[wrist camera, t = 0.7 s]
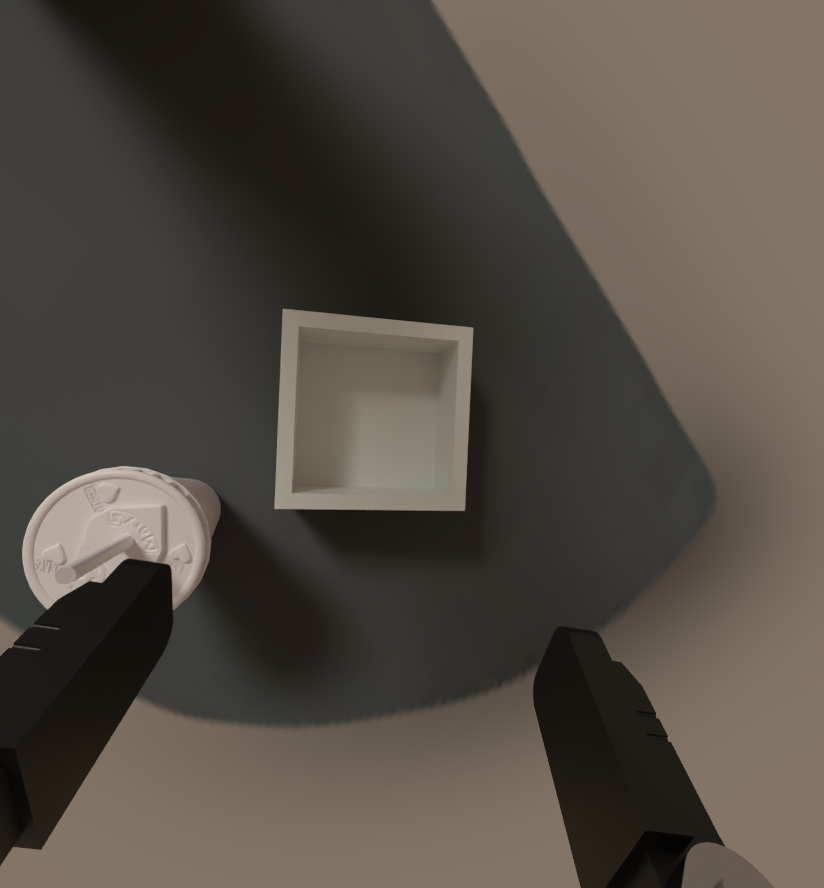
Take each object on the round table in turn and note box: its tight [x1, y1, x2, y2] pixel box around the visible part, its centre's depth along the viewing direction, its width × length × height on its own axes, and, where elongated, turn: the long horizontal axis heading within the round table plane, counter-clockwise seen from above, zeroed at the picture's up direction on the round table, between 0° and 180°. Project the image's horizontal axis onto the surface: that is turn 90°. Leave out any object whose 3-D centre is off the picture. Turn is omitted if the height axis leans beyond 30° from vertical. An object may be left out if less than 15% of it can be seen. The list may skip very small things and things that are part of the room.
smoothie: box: [22, 466, 221, 610], centre depth 20 cm, size 6×6×14 cm
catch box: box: [275, 309, 473, 511], centre depth 26 cm, size 10×10×5 cm
